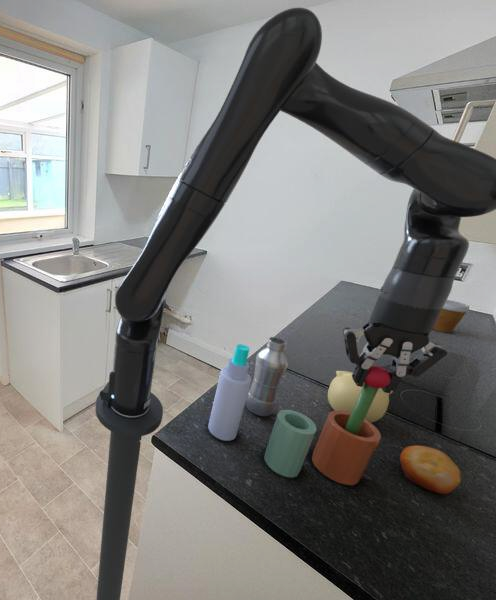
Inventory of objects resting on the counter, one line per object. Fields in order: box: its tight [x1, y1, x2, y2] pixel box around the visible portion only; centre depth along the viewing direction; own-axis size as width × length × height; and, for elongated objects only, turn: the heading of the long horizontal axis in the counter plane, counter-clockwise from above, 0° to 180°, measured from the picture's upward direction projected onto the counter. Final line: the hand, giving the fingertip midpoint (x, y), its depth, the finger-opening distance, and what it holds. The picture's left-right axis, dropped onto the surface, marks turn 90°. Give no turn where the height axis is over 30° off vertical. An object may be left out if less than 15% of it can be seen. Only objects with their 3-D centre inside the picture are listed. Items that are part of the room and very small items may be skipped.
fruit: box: [399, 444, 462, 495], centre depth 60 cm, size 8×8×8 cm
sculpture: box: [327, 370, 394, 424], centre depth 77 cm, size 11×12×11 cm
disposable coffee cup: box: [432, 299, 470, 334], centre depth 129 cm, size 10×10×12 cm
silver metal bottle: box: [245, 336, 289, 417], centre depth 74 cm, size 6×7×20 cm
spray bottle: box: [207, 344, 252, 442], centre depth 67 cm, size 6×6×22 cm
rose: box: [344, 364, 391, 435], centre depth 59 cm, size 4×4×23 cm
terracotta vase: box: [311, 410, 382, 486], centre depth 61 cm, size 8×8×11 cm
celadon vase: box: [263, 409, 317, 478], centre depth 61 cm, size 6×6×11 cm
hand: (371, 386), depth 56 cm, fingers closed on rose, 3 cm apart
